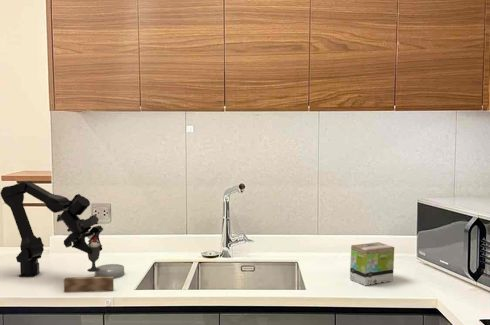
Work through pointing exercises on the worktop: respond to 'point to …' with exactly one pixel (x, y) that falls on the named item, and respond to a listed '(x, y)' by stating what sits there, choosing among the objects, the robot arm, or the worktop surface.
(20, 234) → the robot arm
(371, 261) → the tea box
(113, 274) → the slate plinth
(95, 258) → the sundae
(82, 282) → the brown wooden plank
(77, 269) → the worktop surface
